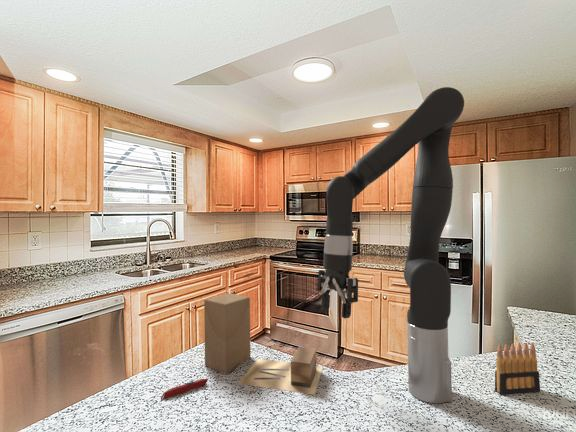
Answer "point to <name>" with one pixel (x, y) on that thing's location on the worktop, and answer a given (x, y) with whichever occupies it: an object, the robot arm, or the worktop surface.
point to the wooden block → (226, 331)
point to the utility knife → (184, 388)
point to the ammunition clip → (516, 370)
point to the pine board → (276, 376)
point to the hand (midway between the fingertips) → (335, 312)
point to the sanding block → (303, 367)
